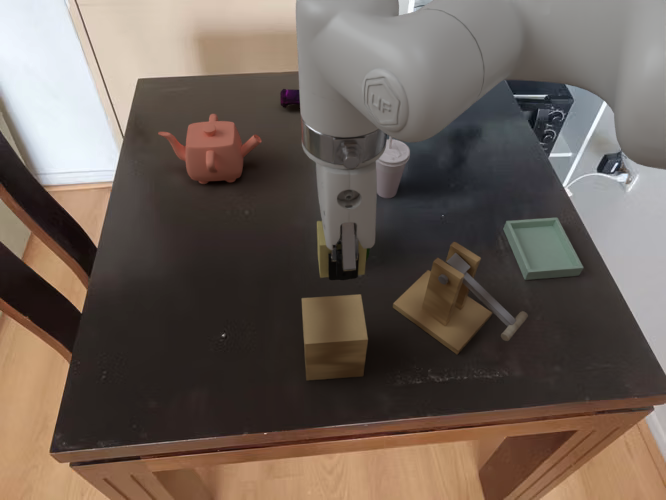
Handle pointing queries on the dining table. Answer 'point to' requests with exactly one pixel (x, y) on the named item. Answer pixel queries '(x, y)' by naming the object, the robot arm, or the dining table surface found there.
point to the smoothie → (391, 167)
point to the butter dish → (542, 248)
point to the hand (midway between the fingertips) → (341, 261)
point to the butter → (324, 252)
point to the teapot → (213, 150)
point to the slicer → (445, 302)
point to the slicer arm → (488, 299)
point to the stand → (334, 337)
